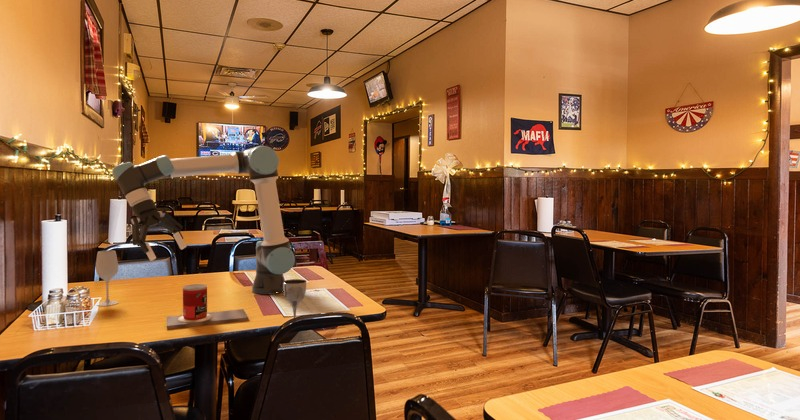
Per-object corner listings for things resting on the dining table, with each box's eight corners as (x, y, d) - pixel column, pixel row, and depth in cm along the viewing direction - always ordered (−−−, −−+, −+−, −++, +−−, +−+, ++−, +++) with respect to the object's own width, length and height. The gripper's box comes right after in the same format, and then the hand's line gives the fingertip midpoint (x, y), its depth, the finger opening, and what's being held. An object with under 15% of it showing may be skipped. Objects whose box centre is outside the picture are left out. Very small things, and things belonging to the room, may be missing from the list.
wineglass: (123, 302, 190) (122, 251, 189) (104, 307, 184) (103, 253, 182) (110, 300, 194) (109, 249, 192) (91, 304, 187) (90, 251, 186)
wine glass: (310, 322, 168) (310, 280, 167) (298, 328, 160) (298, 284, 160) (290, 319, 171) (291, 278, 170) (278, 325, 163) (278, 282, 162)
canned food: (198, 321, 162) (198, 289, 161) (177, 319, 164) (177, 287, 163) (211, 315, 169) (211, 284, 169) (191, 313, 171) (191, 283, 170)
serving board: (243, 312, 179) (243, 308, 179) (248, 320, 169) (248, 316, 169) (166, 320, 168) (166, 315, 168) (166, 329, 157) (166, 325, 157)
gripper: (163, 200, 187) (189, 247, 188) (104, 215, 165) (133, 268, 165) (174, 192, 184) (201, 240, 184) (115, 206, 162) (145, 260, 162)
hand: (169, 253), depth 175 cm, fingers open, 13 cm apart
